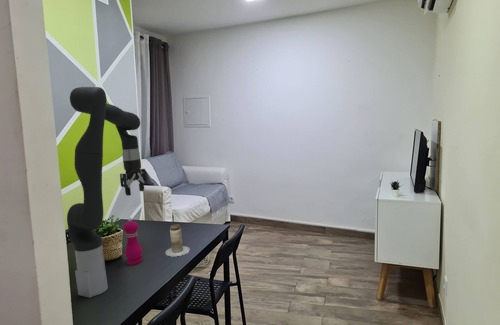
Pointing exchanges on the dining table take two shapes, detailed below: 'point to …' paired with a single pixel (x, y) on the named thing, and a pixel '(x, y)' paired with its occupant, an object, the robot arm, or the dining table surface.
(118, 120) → the robot arm
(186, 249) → the tile
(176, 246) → the salt shaker
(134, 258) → the pepper mill
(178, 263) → the dining table surface
